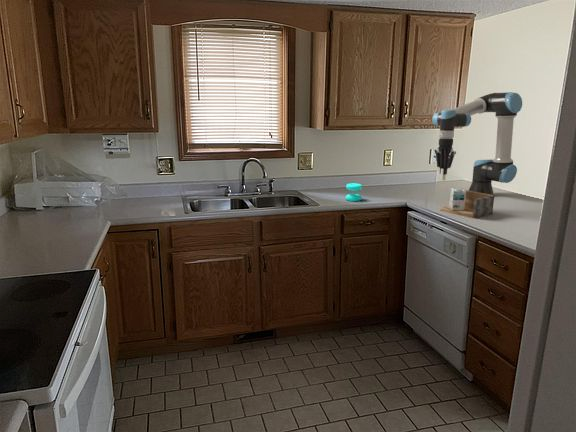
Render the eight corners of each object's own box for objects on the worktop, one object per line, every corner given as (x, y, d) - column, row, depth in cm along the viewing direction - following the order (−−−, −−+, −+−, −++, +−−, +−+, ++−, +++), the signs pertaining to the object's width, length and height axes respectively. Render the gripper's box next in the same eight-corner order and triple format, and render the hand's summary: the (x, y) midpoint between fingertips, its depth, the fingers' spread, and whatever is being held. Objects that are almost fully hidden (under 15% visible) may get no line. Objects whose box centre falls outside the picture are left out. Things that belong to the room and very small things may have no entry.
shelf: (457, 206, 258) (459, 189, 255) (492, 214, 241) (494, 195, 238) (440, 210, 249) (441, 192, 247) (474, 218, 232) (476, 198, 229)
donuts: (359, 182, 280) (364, 185, 271) (358, 198, 283) (363, 201, 273) (344, 183, 279) (348, 186, 269) (343, 198, 281) (348, 202, 272)
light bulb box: (464, 210, 242) (466, 191, 239) (451, 210, 243) (453, 191, 240) (461, 206, 252) (462, 187, 249) (448, 206, 253) (450, 187, 250)
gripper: (432, 137, 249) (429, 179, 255) (452, 139, 239) (448, 182, 245) (440, 137, 254) (437, 177, 259) (460, 138, 243) (456, 180, 249)
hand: (442, 179), depth 252 cm, fingers closed
